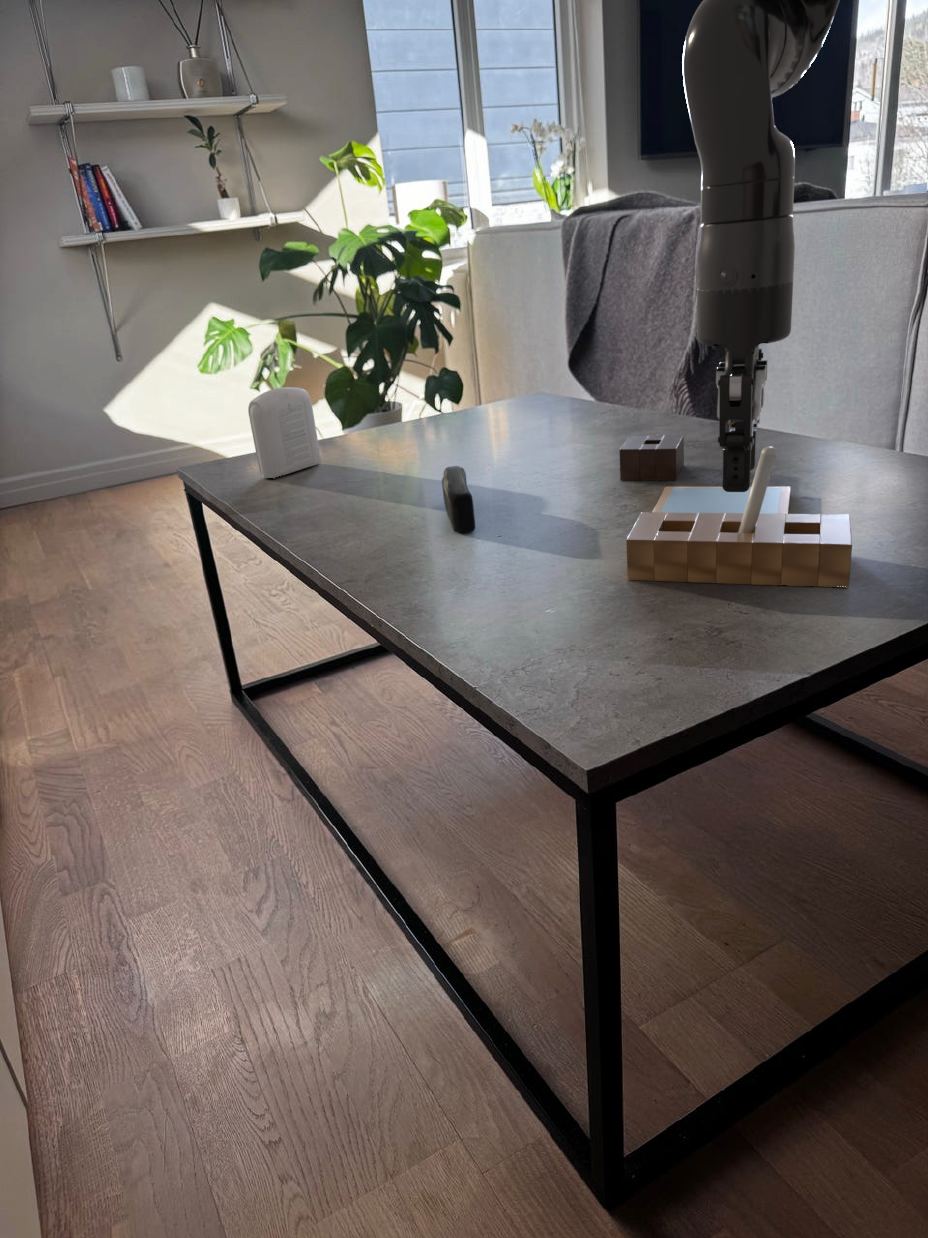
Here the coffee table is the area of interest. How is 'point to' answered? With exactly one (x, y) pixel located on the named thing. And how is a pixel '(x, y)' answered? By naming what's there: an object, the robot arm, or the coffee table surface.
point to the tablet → (720, 500)
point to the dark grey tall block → (458, 499)
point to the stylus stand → (652, 457)
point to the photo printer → (284, 431)
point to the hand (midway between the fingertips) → (739, 479)
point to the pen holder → (741, 549)
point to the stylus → (758, 490)
